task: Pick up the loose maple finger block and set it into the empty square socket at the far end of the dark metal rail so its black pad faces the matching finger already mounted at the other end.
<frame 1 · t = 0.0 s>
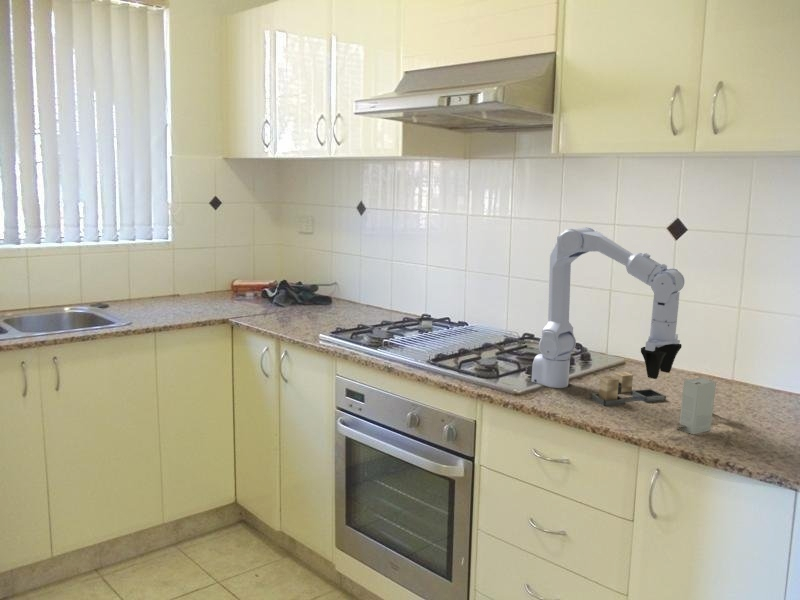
hand: (658, 374, 171), 10 cm above the table, tool pointing down, fingers open, 7 cm apart
skincare box: (694, 431, 163), on the table
free finger: (622, 395, 188), on the table
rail: (627, 405, 180), on the table
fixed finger: (607, 401, 178), resting on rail
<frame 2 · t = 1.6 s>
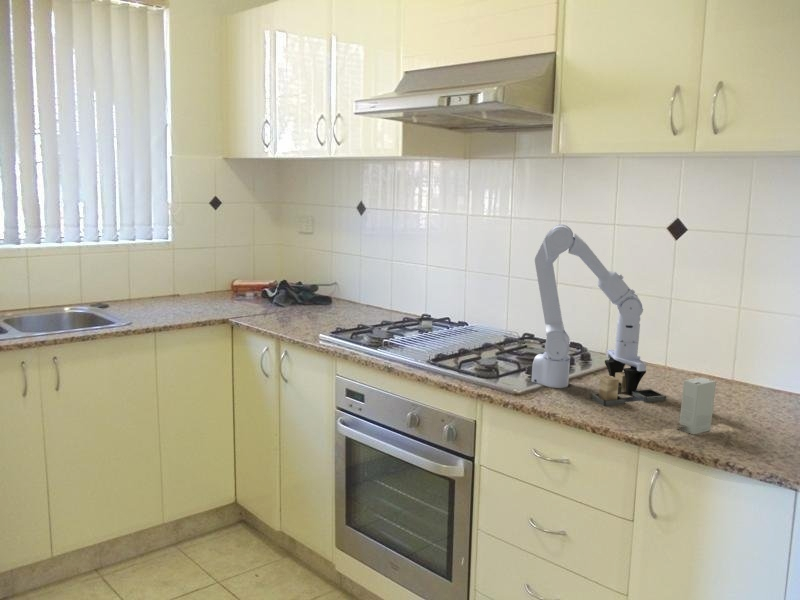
hand: (622, 390, 187), 1 cm above the table, tool pointing down, fingers open, 6 cm apart
nothing on the table moved.
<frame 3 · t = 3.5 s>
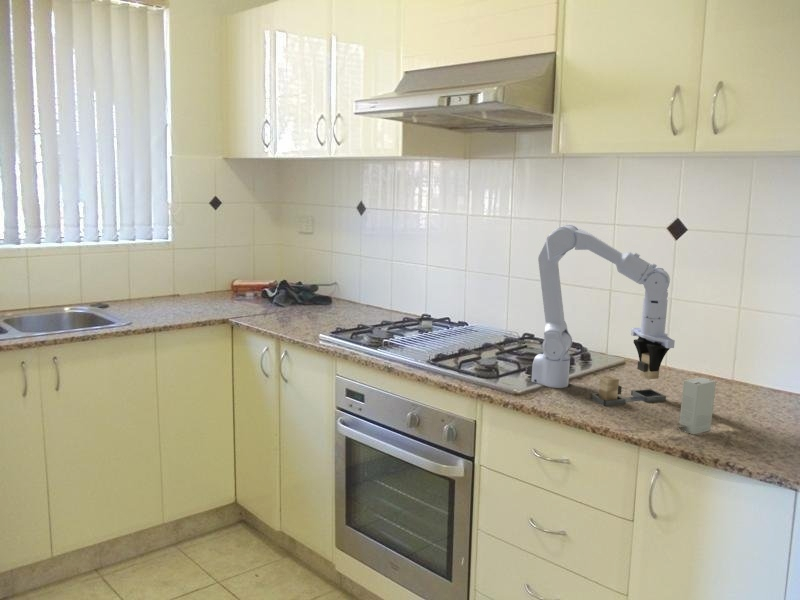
hand: (649, 369, 181), 9 cm above the table, tool pointing down, fingers closed on free finger, 3 cm apart
free finger: (649, 377, 181), point 7 cm above the table, touching gripper
everything else where it was.
when the fingers open (3 cm above the table, at t = 4.9 s): free finger stays where it is, resting on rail.
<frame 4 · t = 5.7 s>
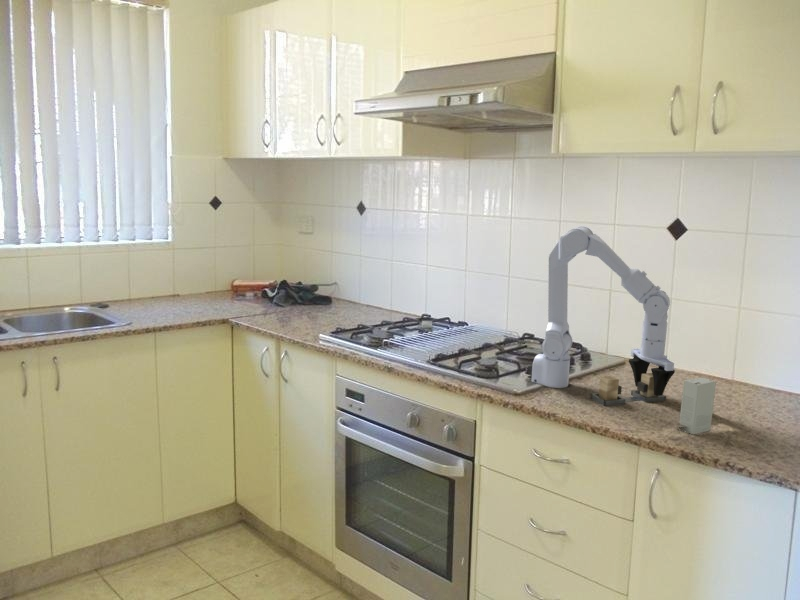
hand: (648, 390, 181), 3 cm above the table, tool pointing down, fingers open, 7 cm apart
free finger: (648, 397, 182), point 1 cm above the table, touching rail
everything else where it was.
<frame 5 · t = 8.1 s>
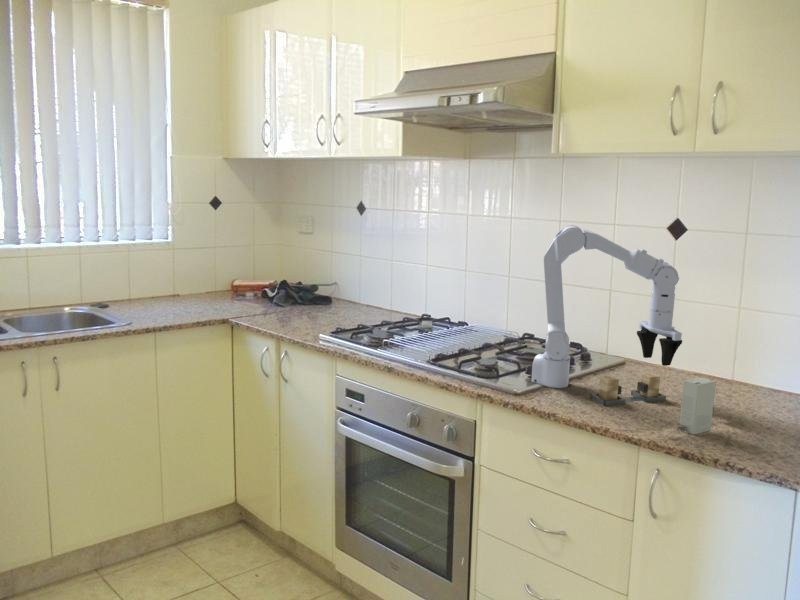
hand: (656, 361, 185), 10 cm above the table, tool pointing down, fingers open, 7 cm apart
nothing on the table moved.
at the end: free finger 0.2 cm from the target spot, point 1.5 cm above the table; free finger tilted 0°; the gripper is holding nothing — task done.
